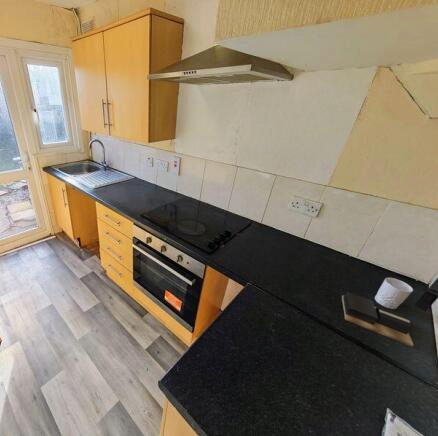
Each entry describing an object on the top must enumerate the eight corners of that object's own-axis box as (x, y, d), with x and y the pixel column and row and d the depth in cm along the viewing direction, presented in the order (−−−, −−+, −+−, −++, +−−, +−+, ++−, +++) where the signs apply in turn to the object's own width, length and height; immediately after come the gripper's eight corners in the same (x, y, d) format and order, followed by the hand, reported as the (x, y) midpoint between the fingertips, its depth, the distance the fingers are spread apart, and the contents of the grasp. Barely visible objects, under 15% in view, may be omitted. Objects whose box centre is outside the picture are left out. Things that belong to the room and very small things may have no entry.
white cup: (402, 307, 91) (417, 289, 86) (392, 312, 88) (406, 294, 84) (379, 293, 97) (391, 275, 93) (368, 298, 95) (380, 280, 90)
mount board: (400, 318, 86) (406, 309, 84) (412, 346, 75) (420, 338, 73) (341, 296, 95) (346, 288, 93) (345, 319, 84) (350, 311, 82)
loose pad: (401, 322, 83) (407, 315, 81) (406, 334, 78) (412, 327, 77) (373, 312, 87) (377, 305, 85) (376, 322, 82) (381, 316, 81)
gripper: (461, 232, 73) (422, 281, 83) (440, 251, 62) (397, 306, 72) (500, 243, 68) (453, 295, 77) (484, 267, 56) (431, 324, 66)
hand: (426, 300), depth 75 cm, fingers open, 13 cm apart
